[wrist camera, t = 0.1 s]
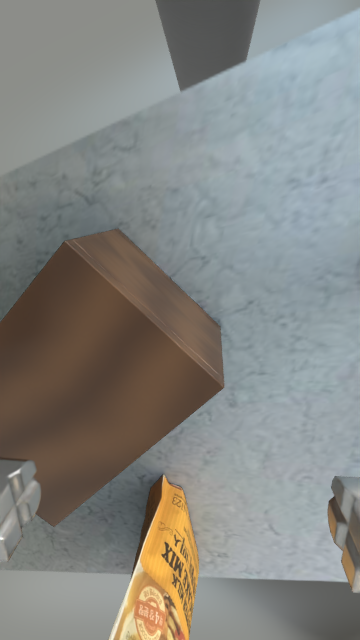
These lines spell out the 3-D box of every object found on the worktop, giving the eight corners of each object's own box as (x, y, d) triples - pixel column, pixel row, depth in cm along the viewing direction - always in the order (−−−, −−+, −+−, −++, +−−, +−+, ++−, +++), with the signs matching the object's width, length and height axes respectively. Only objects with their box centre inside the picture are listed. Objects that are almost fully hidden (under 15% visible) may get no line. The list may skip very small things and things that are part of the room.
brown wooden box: (5, 361, 34) (-84, 428, 24) (118, 228, 28) (64, 240, 18) (98, 436, 36) (53, 527, 26) (220, 326, 31) (224, 387, 20)
